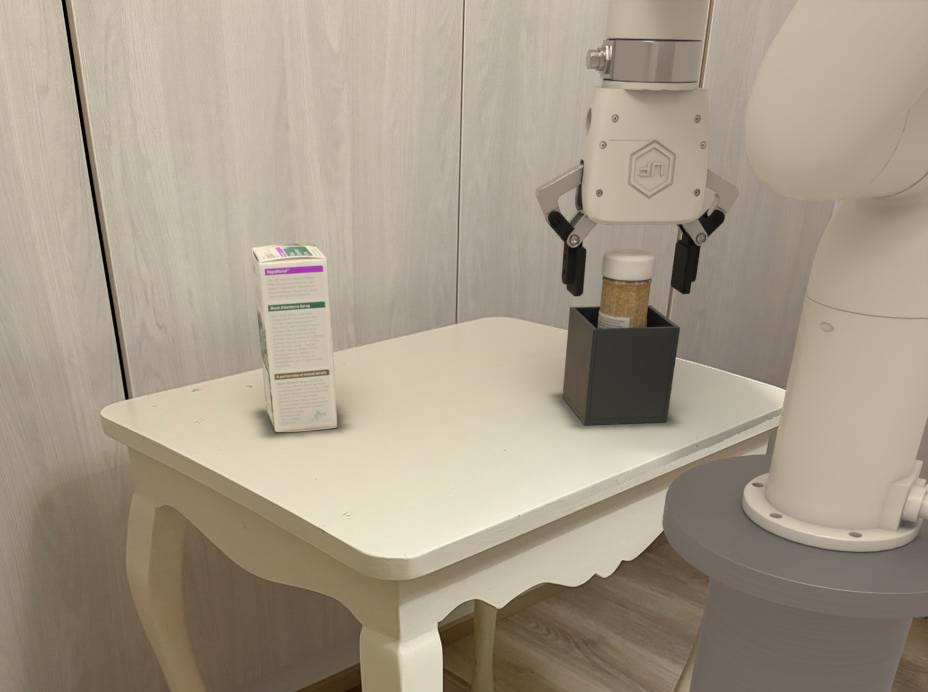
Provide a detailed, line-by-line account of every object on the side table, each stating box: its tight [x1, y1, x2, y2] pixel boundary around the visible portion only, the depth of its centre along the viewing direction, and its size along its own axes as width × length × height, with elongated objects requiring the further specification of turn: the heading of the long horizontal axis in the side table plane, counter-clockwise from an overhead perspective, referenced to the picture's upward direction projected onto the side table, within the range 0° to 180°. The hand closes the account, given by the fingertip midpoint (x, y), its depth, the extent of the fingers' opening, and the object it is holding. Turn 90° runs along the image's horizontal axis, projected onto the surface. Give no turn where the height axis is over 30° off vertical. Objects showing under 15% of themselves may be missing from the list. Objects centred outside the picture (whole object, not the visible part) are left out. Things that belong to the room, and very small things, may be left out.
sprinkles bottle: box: [597, 248, 657, 329], centre depth 89 cm, size 5×5×13 cm
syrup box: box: [251, 243, 338, 433], centre depth 85 cm, size 6×6×14 cm
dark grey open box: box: [562, 304, 681, 426], centre depth 91 cm, size 8×8×8 cm
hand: (627, 291), depth 87 cm, fingers open, 9 cm apart
